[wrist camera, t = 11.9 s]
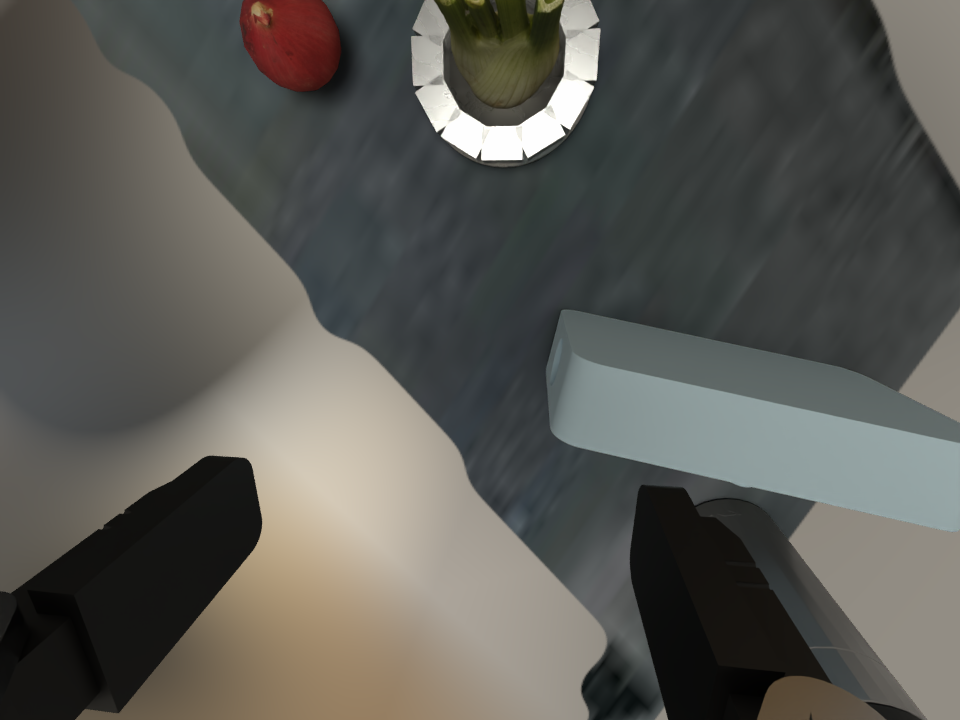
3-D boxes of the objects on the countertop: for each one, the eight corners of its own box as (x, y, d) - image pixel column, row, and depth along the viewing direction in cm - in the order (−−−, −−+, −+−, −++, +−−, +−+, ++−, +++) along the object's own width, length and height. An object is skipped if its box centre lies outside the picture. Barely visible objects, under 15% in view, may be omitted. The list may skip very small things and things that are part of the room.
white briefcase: (542, 372, 38) (547, 453, 25) (559, 306, 36) (574, 359, 23) (819, 433, 37) (968, 549, 24) (852, 369, 35) (1033, 459, 22)
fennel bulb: (562, 64, 29) (581, -27, 18) (520, 133, 31) (513, 90, 20) (490, 10, 29) (463, -118, 18) (451, 84, 31) (403, 9, 19)
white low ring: (624, 107, 31) (634, 94, 27) (475, 199, 34) (469, 198, 30) (543, -77, 28) (545, -115, 25) (390, 42, 31) (373, 22, 28)
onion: (288, 106, 33) (216, 75, 26) (273, 14, 31) (191, -48, 24) (363, 99, 32) (312, 65, 25) (351, 5, 31) (292, -63, 23)
